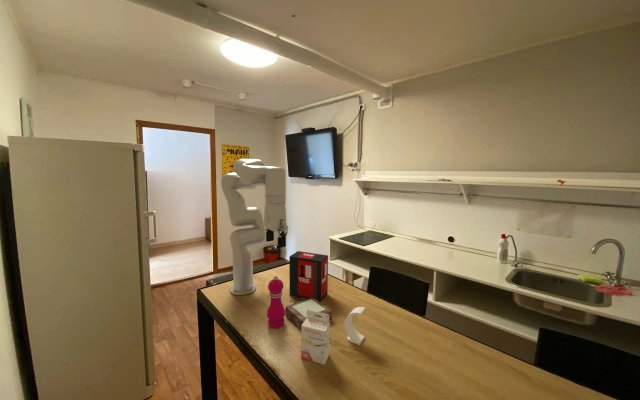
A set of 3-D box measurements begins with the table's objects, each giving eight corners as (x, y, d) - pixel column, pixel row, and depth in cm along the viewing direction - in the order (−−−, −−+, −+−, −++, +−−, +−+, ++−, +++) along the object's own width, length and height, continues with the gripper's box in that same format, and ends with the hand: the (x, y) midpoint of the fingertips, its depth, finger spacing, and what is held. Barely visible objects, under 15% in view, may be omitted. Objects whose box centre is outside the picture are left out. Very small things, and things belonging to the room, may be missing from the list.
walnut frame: (285, 315, 109) (285, 305, 108) (312, 305, 117) (312, 296, 117) (303, 332, 98) (303, 321, 97) (332, 319, 106) (332, 309, 106)
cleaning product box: (327, 294, 128) (328, 255, 125) (320, 302, 120) (321, 261, 117) (297, 288, 134) (297, 251, 131) (289, 295, 126) (289, 256, 123)
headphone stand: (359, 345, 91) (360, 313, 89) (344, 339, 94) (344, 308, 93) (364, 338, 95) (365, 307, 93) (349, 332, 98) (350, 302, 96)
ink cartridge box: (300, 358, 84) (300, 316, 82) (306, 348, 89) (306, 308, 87) (325, 365, 81) (325, 322, 80) (329, 355, 86) (330, 313, 84)
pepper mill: (281, 330, 99) (281, 280, 96) (263, 328, 100) (263, 279, 98) (287, 319, 106) (287, 273, 103) (271, 317, 107) (270, 271, 105)
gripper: (256, 198, 101) (257, 240, 103) (277, 203, 88) (277, 251, 90) (273, 197, 106) (274, 237, 108) (296, 201, 92) (295, 248, 94)
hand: (275, 243), depth 99 cm, fingers open, 9 cm apart
